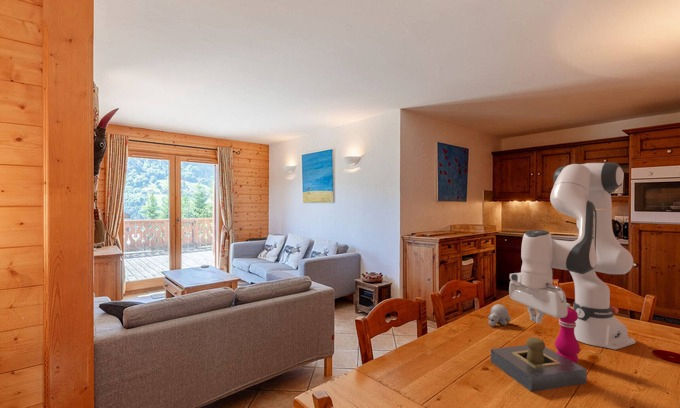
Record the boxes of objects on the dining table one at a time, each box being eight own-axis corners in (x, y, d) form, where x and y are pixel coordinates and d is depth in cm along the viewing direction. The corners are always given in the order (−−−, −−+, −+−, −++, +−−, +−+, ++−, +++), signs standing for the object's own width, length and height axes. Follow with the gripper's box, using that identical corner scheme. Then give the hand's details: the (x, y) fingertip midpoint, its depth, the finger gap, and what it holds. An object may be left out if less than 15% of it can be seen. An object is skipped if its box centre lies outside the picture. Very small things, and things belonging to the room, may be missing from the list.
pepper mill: (575, 355, 117) (575, 301, 116) (583, 365, 110) (583, 307, 110) (552, 352, 119) (552, 299, 119) (558, 362, 112) (558, 305, 112)
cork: (549, 378, 102) (549, 343, 102) (528, 375, 104) (528, 341, 103) (542, 368, 108) (542, 335, 108) (522, 366, 110) (522, 334, 109)
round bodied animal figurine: (484, 329, 147) (479, 313, 146) (499, 315, 152) (495, 299, 151) (498, 334, 141) (493, 318, 139) (514, 319, 146) (509, 303, 145)
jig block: (538, 355, 117) (539, 342, 117) (586, 383, 99) (586, 368, 99) (490, 361, 113) (490, 348, 112) (531, 391, 95) (531, 375, 95)
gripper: (573, 287, 96) (572, 333, 96) (521, 272, 116) (520, 310, 116) (555, 289, 95) (555, 335, 95) (506, 273, 115) (505, 311, 115)
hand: (535, 321), depth 106 cm, fingers closed
